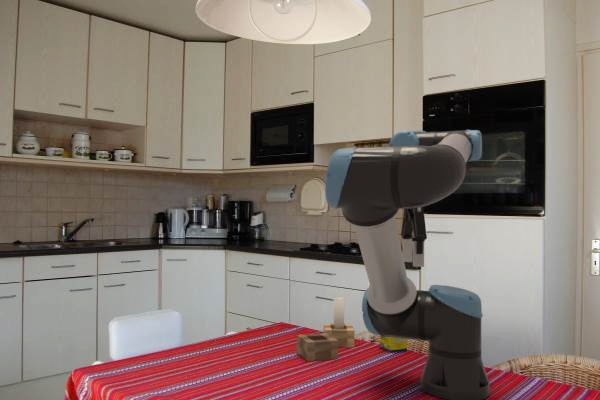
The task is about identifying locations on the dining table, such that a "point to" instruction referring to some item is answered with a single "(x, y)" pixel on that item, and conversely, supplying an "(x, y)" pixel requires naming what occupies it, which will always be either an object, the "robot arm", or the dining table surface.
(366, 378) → the dining table surface
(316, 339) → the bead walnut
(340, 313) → the needle dowel
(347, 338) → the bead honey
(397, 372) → the dining table surface
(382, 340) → the supplement box
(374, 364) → the dining table surface
